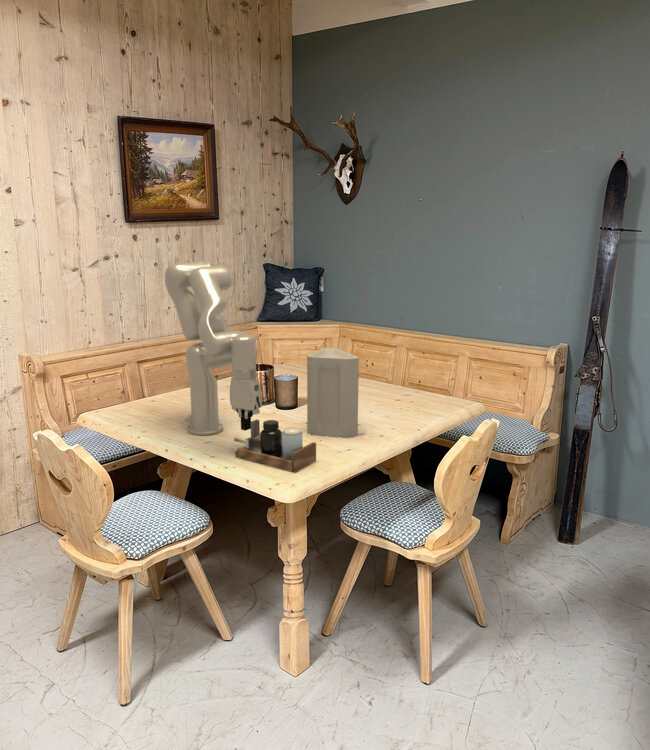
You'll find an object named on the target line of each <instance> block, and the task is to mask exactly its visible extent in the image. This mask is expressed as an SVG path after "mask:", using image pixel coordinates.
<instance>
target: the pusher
mask: <svg viewBox="0 0 650 750" xmlns="http://www.w3.org/2000/svg"><path fill="white" fill-rule="evenodd" d="M260 427H261V426H260V419H254V420H251V429H250V437H248V438H247V437H246V438H245V440H244V439H239V438H236V437H234V438H233V441H234V442H236V443H240V444H245V447H246V449H247V450H251V451H255V452H259V453H261V439H260V433H261V432H260V429H261V428H260Z"/></svg>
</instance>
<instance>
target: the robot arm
mask: <svg viewBox="0 0 650 750" xmlns="http://www.w3.org/2000/svg"><path fill="white" fill-rule="evenodd" d="M165 269H166V270H165V271H164V272H165V274H164V285H165V287H166V291H167V293H168V296H170V299H171V300H172V302H173V304H174V307H175V309H176V313H177V317H178V320H179V324H180V327H181V330H182V334H183V336H184V338H185V339H186V340H187V341H190V342H195V341H201V342H196V343H194V344H191V345H189V346H188V347H187V349H186V351H185V361H186V366H187V371H188V375H189V376H188V377H189V390H190V392H189V393H190V394H189V395H190V413H189V414H187V416H186V417H185V419H184V421H185V422H188V423H189V425H188V426H187V432H188V433H189V434H191V435H196V436H209V435H210V436H211V435H215V434H218V433H221V432H222V431H224V425H223V424H222V423H221V422H220V419H219V417H220V415H219V392H218V389H219V387H218V380H217V378H216V376H215V375H214V374H213V373H212V371H211V370H213V369H219V368H220V369H221V368H224V367H225V368H226V367H229V366H231V371H232V372H231V373H232V374H231V375H232V376H231V379H230V385H229V403H230V406H231V409H232V410H233V411H235V412H236V413H237V415H238V418H239V419H240V430H241V431H245V432H246V431H248V430H251V422H252V417H253V416H254V415H258V414H260V408H262V406H263V397H262V389H261V384H260V383H261V382H260V380H259V378H258V376H259V372H258V371H257V358H256V357H257V355H256V354H257V353H256V351H257V350H256V349H257V348H256V338H255V337H254V335H252V334H247V333H245V332H244V331H242V330H233V331H232V330H231V331H230V327H229V325H228V322H227V320H226V318H225V316H224V315H223V314H222V313H223V312H224V311H225V310H226V309H227V305H228V303H227V300H226V298H225V295H224V294H223V291H228V290H229V289H231V287H232V284H233V277H232V273H231V272H230V270H229V268H227V267H226V266H225V265H222V264H219V263H215V262H212V261H192V262H190V261H189V262H180V263H179V262H178V263H174V264H171V265H169V266H168V267H167V268H165ZM188 288H191V289H192V290H193V292H192V291H191V290H189V289H188Z"/></svg>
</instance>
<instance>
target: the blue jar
mask: <svg viewBox="0 0 650 750" xmlns="http://www.w3.org/2000/svg"><path fill="white" fill-rule="evenodd" d="M281 432H282V458H283V459H287V460H291V461H292V453H293V452H295V451H297V450H299V449H301V448H303V447H304V446H303V445H304V444H303V431H302V430H301V428H300V427H296V426H290V427H285V428H284V429H283V431H281Z"/></svg>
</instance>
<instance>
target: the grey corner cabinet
mask: <svg viewBox="0 0 650 750" xmlns="http://www.w3.org/2000/svg"><path fill="white" fill-rule="evenodd" d="M306 367H307V368H306V383H307V384H306V389H307V390H306V392H307V393H306V394H307V395H306V396H307V397H306V401H307V403H306V404H307V405H306V406H307V410H306V411H307V412H306V413H307V414H306V417H307V418H306V419H307V422H306V424H307V426H306V429H307V434H308V435H309V434H310V435H309V436H313V435H318V436H317V437H326V436H328V437H329V438H339V437H341V438H342V439H350V437H351V438H356V437H355V436H357V437H358V435H359V434H358V429H359V427H358V426H359V379H360V377H359V374H360V372H359V371H360V368H359V367H360V358H359V357H358V356H356V355H353V354H351V353H349V352H346V351H344V350H342V349H339V348H337V347H326V348H325V347H324V348H322V349H319V350H316V351H314V352H312V353H309V354H307V356H306ZM341 438H340V439H341Z"/></svg>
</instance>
